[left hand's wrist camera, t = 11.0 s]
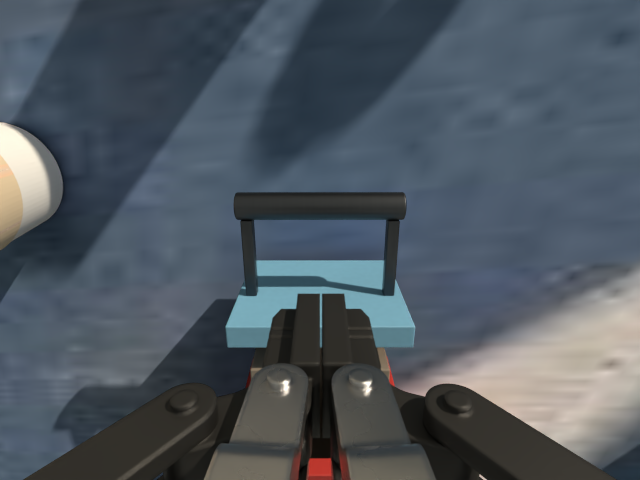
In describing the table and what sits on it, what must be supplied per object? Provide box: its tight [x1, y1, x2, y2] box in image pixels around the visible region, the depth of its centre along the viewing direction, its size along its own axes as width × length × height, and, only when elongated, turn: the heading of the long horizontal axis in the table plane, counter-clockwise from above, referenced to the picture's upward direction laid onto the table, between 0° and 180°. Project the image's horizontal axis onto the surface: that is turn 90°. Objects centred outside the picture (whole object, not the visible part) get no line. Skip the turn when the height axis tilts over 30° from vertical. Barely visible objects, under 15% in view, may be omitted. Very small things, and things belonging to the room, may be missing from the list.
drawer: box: [225, 192, 415, 458], centre depth 24 cm, size 24×9×8 cm, turn 0°
